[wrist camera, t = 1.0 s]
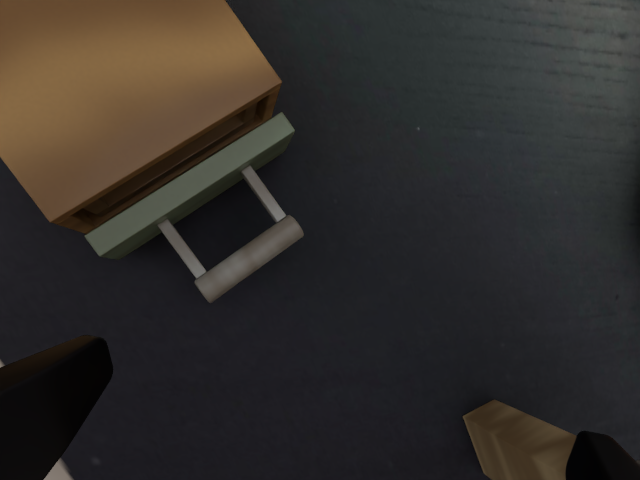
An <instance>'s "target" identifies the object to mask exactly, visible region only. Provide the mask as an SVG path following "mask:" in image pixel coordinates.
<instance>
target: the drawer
mask: <svg viewBox="0 0 640 480" xmlns="http://www.w3.org/2000/svg"><path fill="white" fill-rule="evenodd" d="M256 107H257V102H256V103H255V104H253V105H251V106H250V107H248V108H246V109H245V110H243V111H241V112H240V113H238V114H237V115H235V116H233V117H232V118H230V119H228V120H227V121H225V122H223V123H222V124H220V125H218V126H217V127H215V128H214V129H212V130H210V131H209V132H207V133H205V134H204V135H202V136H200V137H199V138H197V139H195V140H194V141H192V142H190V143H189V144H187V145H186V146H184V147H182V148H181V149H179V150H177V151H176V152H174V153H172V154H171V155H169V156H167V157H166V158H164V159H163V160H161V161H159V162H158V163H156V164H154V165H153V166H151V167H149V168H148V169H146V170H144V171H143V172H141V173H140V174H138V175H136V176H135V177H133V178H131V179H130V180H128V181H126V182H125V183H123V184H121V185H120V186H118V187H117V188H115V189H113V190H112V191H110V192H108V193H107V194H105V195H103V196H102V197H100V198H98V199H97V200H95V201H93V202H92V203H90V204H89V205H87V206H85V207H84V209H86V210H88V211H90V212H92V213H94V214H96V215H98V216H100V217H101V216H103V215H104V214H106V213H108V212H109V211H111V210H112V209H114V208H116V207H117V206H119V205H121V204H122V203H124V202H125V201H127V200H129V199H130V198H132V197H133V196H135V195H137V194H138V193H140V192H142V191H143V190H145V189H146V188H148V187H150V186H151V185H153V184H154V183H156V182H158V181H159V180H161V179H162V178H164V177H166V176H167V175H169V174H171V173H172V172H174V171H175V170H177V169H179V168H180V167H182V166H183V165H185V164H187V163H188V162H190V161H191V160H193V159H195V158H196V157H198V156H200V155H201V154H203V153H204V152H206V151H208V150H209V149H211V148H212V147H214V146H216V145H217V144H219V143H220V142H222V141H224V140H225V139H227V138H229V137H230V136H232V135H233V134H235V133H237V132H238V131H240V130H241V129H243V128H245V127H246V126H248V125H249V124H251V123H253V122H254V118H255V117H254V116H255V112H256ZM294 132H295V129H294V128H293V127H292V125H291V124H290V122H289V121H288V119H287V118H286V117H285V115H284V114H283V113H282V112H281V113H279V114H278V115H276V116H275V117H273V118H271V119H270V120H268V121H267V122H265V123H263V124H262V125H260V126H259V127H257V128H255V129H254V130H252V131H251V132H249V133H247V134H246V135H244V136H243V137H241V138H239V139H238V140H236V141H235V142H233V143H231V144H230V145H228V146H227V147H225V148H223V149H222V150H220V151H219V152H217V153H215V154H214V155H212V156H211V157H209V158H207V159H206V160H204V161H203V162H201V163H199V164H198V165H196V166H195V167H193V168H191V169H190V170H188V171H187V172H185V173H183V174H182V175H180V176H179V177H177V178H175V179H174V180H172V181H171V182H169V183H167V184H166V185H164V186H163V187H161V188H159V189H158V190H156V191H155V192H153V193H151V194H150V195H148V196H147V197H145V198H144V199H142V200H140V201H139V202H137V203H136V204H134V205H132V206H131V207H129V208H128V209H126V210H124V211H123V212H121V213H120V214H118V215H116V216H115V217H113V218H112V219H110V220H108V221H107V222H105V223H104V224H102V225H100V226H99V227H97V228H96V229H94V230H92V231H91V232H89V233H88V234H86V235H85V238H86V239H87V241H88V242H89V243H90V245H91V246H92V247H93V249H94V250H95V251H96V253H97V254H98V255H99V256H100V257H105V258H111V259H116V260H120V259H122V258H123V257H125V256H126V255H128V254H129V253H131V252H132V251H134V250H135V249H137V248H138V247H140V246H141V245H143V244H144V243H146V242H148V241H149V240H151V239H152V238H154V237H155V236H157V235H158V234H160V233H161V232H162V233H163V234H164V235H165V237H166V238H167V239H168V241H169V242H170V244H171V245H172V246H173V248H174V249H175V250H176V252H177V253H178V254H179V256H180V257H181V258H182V260H183V261H184V262H185V264H186V265H187V267H188V268H189V269H190V271H191V272H192V273H193V275H194V276H195V277H196V278H198V279H196V280H195V281H194V282H195V285H196V286H197V288H198V289H199V290H200V292H201V293H202V295H203V296H204V297H205V298H206V300H207V301H208V302H209V303H212V302H213V301H214V300H216V299H217V298H219V297H220V296H221V295H223V294H224V293H226V292H227V291H228V290H230V289H231V288H232V287H234V286H235V285H237V284H238V283H239V282H241V281H242V280H244V279H245V278H246V277H248V276H249V275H250V274H252V273H253V272H255V271H256V270H257V269H259V268H260V267H261V266H263V265H264V264H266V263H267V262H268V261H270V260H271V259H273V258H274V257H275V256H277V255H278V254H279V253H281V252H282V251H284V250H285V249H286V248H288V247H289V246H291V245H292V244H293V243H295V242H296V241H297V240H299V239H300V238H302V237H303V235H304V234H303V231H302V229H301V227H300V225H299V224H298V222H297V221H296V220H295V219H294V218H293V217H292V216H290V215H288V216H286V215H285V213H284V212H283V210H282V209H281V208H280V206H279V205H278V203H277V202H276V201H275V199H274V198H273V196H272V195H271V194H270V192H269V191H268V189H267V188H266V187H265V185H264V184H263V182H262V181H261V180H260V178H259V177H258V175H257V174H256V173H255V171H256V170H257V169H259V168H261V167H262V166H264V165H265V164H267V163H268V162H270V161H271V160H273V159H274V158H276V157H277V156H279V155H280V154H282V153H283V152H285V150H286V148H287V146H288V144H289V142H290V140H291V138H292V136H293V134H294ZM242 179H245V181H246V182H247V183H248V185H249V186H250V188H251V189H252V190H253V192H254V193H255V195H256V196H257V197H258V199H259V200H260V202H261V203H262V204H263V206H264V207H265V208H266V210H267V211H268V213H269V214H270V215H271V217H272V218H273V220H274V221H275V222H276V224H275V225H273V226H272V227H270V228H269V229H268V230H266V231H265V232H263V233H262V234H260V235H259V236H258V237H256V238H255V239H253V240H252V241H250V242H249V243H248V244H246V245H245V246H243V247H242V248H240V249H239V250H238V251H236V252H235V253H233V254H232V255H230V256H229V257H228V258H226V259H225V260H223V261H222V262H220V263H219V264H218V265H216V266H215V267H213V268H212V269H210V270H209V271H208V272H207V271H206V270H205V268H204V267H203V266H202V264H201V263H200V262H199V260H198V259H197V257H196V256H195V255H194V253H193V252H192V251H191V249H190V248H189V247H188V245H187V244H186V243H185V241H184V240H183V238H182V237H181V236H180V234H179V233H178V232H177V230H176V229H175V228H174V226H173V224H175V223H177V222H178V221H180V220H181V219H183V218H184V217H186V216H187V215H189V214H190V213H192V212H193V211H195V210H196V209H198V208H199V207H201V206H203V205H204V204H206V203H207V202H209V201H210V200H212V199H213V198H215V197H216V196H218V195H219V194H221V193H222V192H224V191H225V190H227V189H228V188H230V187H232V186H233V185H235V184H236V183H238V182H239V181H241V180H242Z"/></svg>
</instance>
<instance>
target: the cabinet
mask: <svg viewBox="0 0 640 480" xmlns="http://www.w3.org/2000/svg"><path fill="white" fill-rule="evenodd" d="M281 84H282V81H281V80H280V78H279V77H278V75H277V74H276V73H275V71H274V70H273V68H272V67H271V65H270V64H269V63H268V61H267V60H266V58H265V57H264V55H263V54H262V53H261V51H260V50H259V48H258V47H257V45H256V44H255V42H254V41H253V40H252V38H251V37H250V35H249V34H248V32H247V31H246V30H245V28H244V27H243V25H242V24H241V22H240V21H239V20H238V18H237V17H236V15H235V14H234V12H233V11H232V10H231V8H230V7H229V5H228V4H227V2H226V1H225V0H0V157H1V159H2V160H3V161H4V162H5V164H6V165H7V166H8V168H9V169H10V170H11V172H12V173H13V174H14V176H15V177H16V178H17V180H18V181H19V182H20V184H21V185H22V186H23V188H24V189H25V190H26V191H27V193H28V194H29V195H30V197H31V198H32V199H33V201H34V202H35V203H36V205H37V206H38V207H39V209H40V210H41V211H42V213H43V214H44V215H45V217H46V218H47V219H48V221H49V222H51V223H54V224H57V225H61V226H64V227H67V228H70V229H73V230H76V231H79V232H82V233H85V234H88V233H89V232H91V231H92V230H94V229H96V228H97V227H99V226H100V225H102V224H104V223H105V222H107V221H108V220H110V219H112V218H113V217H115V216H116V215H118V214H120V213H121V212H123V211H124V210H126V209H128V208H129V207H131V206H132V205H134V204H136V203H137V202H139V201H140V200H142V199H144V198H145V197H147V196H148V195H150V194H151V193H153V192H155V191H156V190H158V189H159V188H161V187H163V186H164V185H166V184H167V183H169V182H171V181H172V180H174V179H175V178H177V177H179V176H180V175H182V174H183V173H185V172H187V171H188V170H190V169H191V168H193V167H195V166H196V165H198V164H199V163H201V162H203V161H204V160H206V159H207V158H209V157H211V156H212V155H214V154H215V153H217V152H219V151H220V150H222V149H223V148H225V147H227V146H228V145H230V144H231V143H233V142H235V141H236V140H238V139H239V138H241V137H243V136H244V135H246V134H247V133H249V132H251V131H252V130H254V129H255V128H257V127H259V126H260V125H262V124H263V123H265V122H267V121H268V120H270V119H271V116H272V113H273V110H274V106H275V103H276V100H277V96H278V93H279V90H280V87H281ZM256 102H257V107H256V112H255V116H254V117H255V118H254V122H253V123H251V124H249V125H248V126H246V127H245V128H243V129H241V130H240V131H238V132H237V133H235V134H233V135H232V136H230V137H229V138H227V139H225V140H224V141H222V142H220V143H219V144H217V145H216V146H214V147H212V148H211V149H209V150H208V151H206V152H204V153H203V154H201V155H200V156H198V157H196V158H195V159H193V160H191V161H190V162H188V163H187V164H185V165H183V166H182V167H180V168H179V169H177V170H175V171H174V172H172V173H171V174H169V175H167V176H166V177H164V178H162V179H161V180H159V181H158V182H156V183H154V184H153V185H151V186H150V187H148V188H146V189H145V190H143V191H142V192H140V193H138V194H137V195H135V196H133V197H132V198H130V199H129V200H127V201H125V202H124V203H122V204H121V205H119V206H117V207H116V208H114V209H112V210H111V211H109V212H108V213H106V214H104V215H103V216H101V217H100V216H98V215H96V214H94V213H92V212H90V211H88V210H86V209H84V207H85V206H87V205H89V204H90V203H92V202H93V201H95V200H97V199H98V198H100V197H102V196H103V195H105V194H107V193H108V192H110V191H112V190H113V189H115V188H117V187H118V186H120V185H121V184H123V183H125V182H126V181H128V180H130V179H131V178H133V177H135V176H136V175H138V174H140V173H141V172H143V171H144V170H146V169H148V168H149V167H151V166H153V165H154V164H156V163H158V162H159V161H161V160H163V159H164V158H166V157H167V156H169V155H171V154H172V153H174V152H176V151H177V150H179V149H181V148H182V147H184V146H186V145H187V144H189V143H190V142H192V141H194V140H195V139H197V138H199V137H200V136H202V135H204V134H205V133H207V132H209V131H210V130H212V129H214V128H215V127H217V126H218V125H220V124H222V123H223V122H225V121H227V120H228V119H230V118H232V117H233V116H235V115H237V114H238V113H240V112H241V111H243V110H245V109H246V108H248V107H250V106H251V105H253V104H255V103H256Z"/></svg>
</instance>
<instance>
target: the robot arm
mask: <svg viewBox="0 0 640 480" xmlns="http://www.w3.org/2000/svg"><path fill="white" fill-rule="evenodd" d="M112 374H113V365H112V361H111V357H110V353H109V349H108V346H107V342H106V341H105V340H104V339H103V338H101V337H96V336H91V335H83V336H80V337H77V338H75V339H72V340H70V341H67V342H65V343H62V344H60V345H57V346H54V347H52V348H49V349H47V350H44V351H42V352H39V353H37V354H34V355H31V356H29V357H26V358H24V359H21V360H19V361H16V362H14V363H11V364H8V365H6V366H3V367H1V368H0V480H43V479H44V478H45V477H46V476H47V474H48V473H49V472H50V470H51V469H52V467H53V466H54V465H55V463H56V462H57V461H58V460H59V458H60V457H61V456H62V454H63V453H64V451H65V450H66V449H67V447H68V446H69V444H70V443H71V441H72V440H73V438H74V437H75V435H76V434H77V432H78V430H79V429H80V427H81V426H82V424H83V423H84V421H85V419H86V418H87V416H88V415H89V413H90V411H91V410H92V408H93V407H94V405H95V404H96V402H97V400H98V399H99V397H100V396H101V394H102V392H103V391H104V389H105V388H106V386H107V384H108V383H109V381H110V379H111V377H112ZM565 475H566V480H640V465H639V464H638V463H637V462H636V461H635V460H634V459H633V458H632V457H631V456H630V455H629V454H628V453H627V452H626V451H625V450H624V449H623V448H622V447H621V446H620V445H619V444H618V443H617V442H616V441H615V440H614V439H613V438H611V437H610V436H608V435H605V434H599V433H594V432H589V431H581V432H580V433H579V434H578V435H577V437H576V440H575V442H574V445H573V448H572V450H571V453H570V456H569V458H568V461H567V464H566V471H565Z"/></svg>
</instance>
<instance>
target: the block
mask: <svg viewBox="0 0 640 480" xmlns="http://www.w3.org/2000/svg"><path fill="white" fill-rule="evenodd" d="M463 419H464V422H465V424H466V427H467V430H468V432H469V435H470V438H471V440H472V443H473V446H474V449H475V451H476V454H477V457H478V459H479V462H480V465H481V467H482V470H483V473H484V474H485V475H486V476H488V477H489V478H491V479H492V480H566V475H565V471H566V464H567V461H568V458H569V456H570V453H571V450H572V448H573V445H574V442H575V440H576V437H577V436H576V435H573V434H571V433H569V432H567V431H564V430H562V429H560V428H558V427H555V426H553V425H551V424H549V423H546V422H544V421H542V420H540V419H537V418H535V417H533V416H531V415H528V414H526V413H524V412H522V411H519V410H517V409H515V408H513V407H510V406H508V405H506V404H504V403H501V402H499V401H497V400H492V401H490V402H488V403H486V404H485V405H483V406H481V407H479V408H477V409H475V410H473V411H471V412H470V413H468V414H466V415H464V416H463ZM636 462H637V463H638V464H639V465H640V460H637V461H636Z"/></svg>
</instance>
